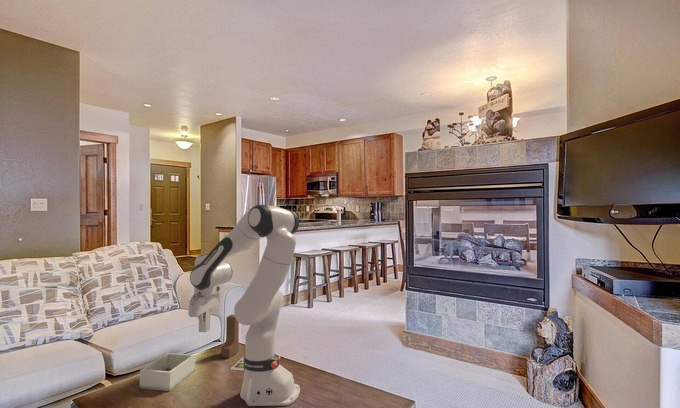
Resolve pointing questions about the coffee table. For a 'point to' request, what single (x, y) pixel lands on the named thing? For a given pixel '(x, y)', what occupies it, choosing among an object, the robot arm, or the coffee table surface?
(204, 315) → the metal peg
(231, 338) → the wooden block
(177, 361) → the walled box
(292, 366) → the coffee table surface
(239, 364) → the handheld gaming device
